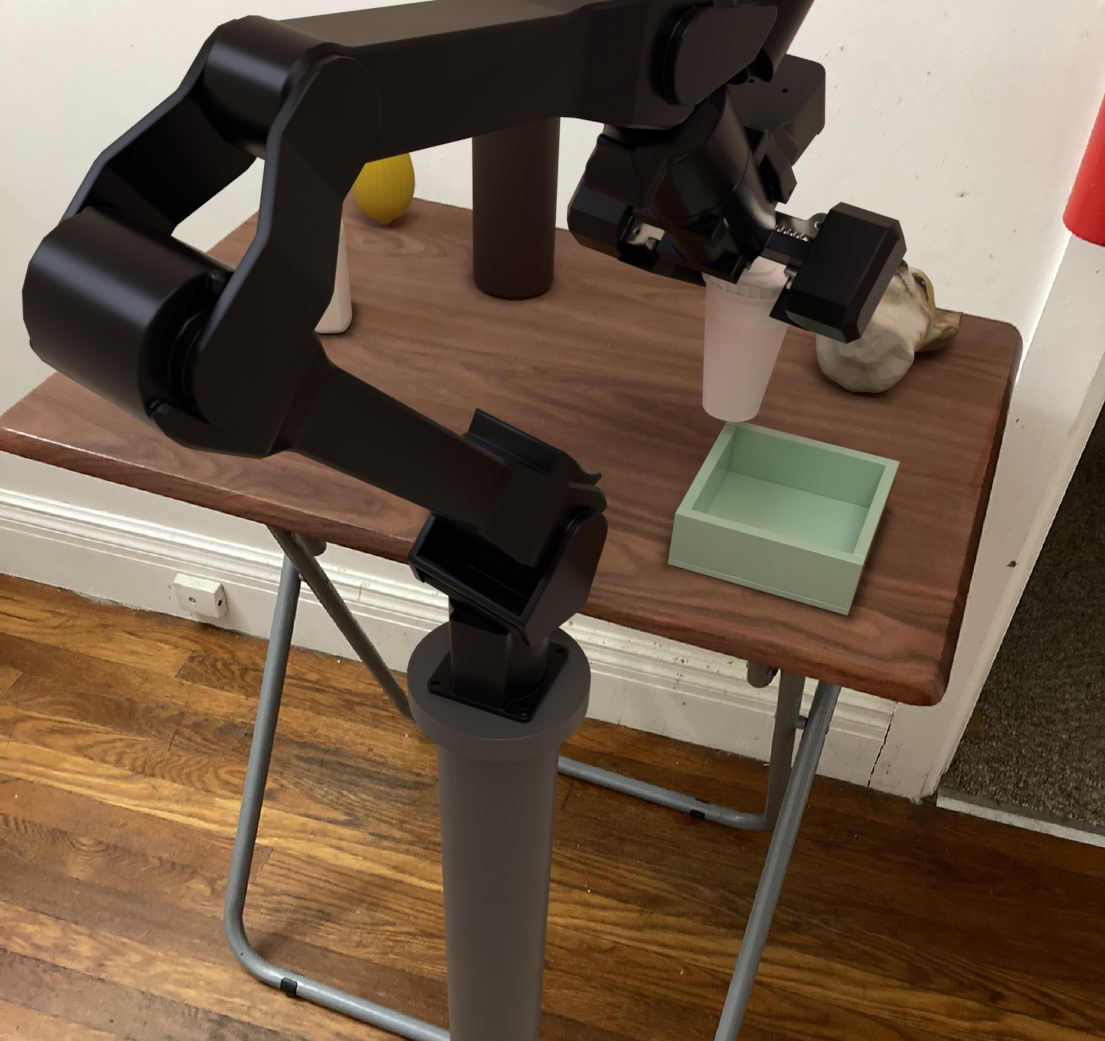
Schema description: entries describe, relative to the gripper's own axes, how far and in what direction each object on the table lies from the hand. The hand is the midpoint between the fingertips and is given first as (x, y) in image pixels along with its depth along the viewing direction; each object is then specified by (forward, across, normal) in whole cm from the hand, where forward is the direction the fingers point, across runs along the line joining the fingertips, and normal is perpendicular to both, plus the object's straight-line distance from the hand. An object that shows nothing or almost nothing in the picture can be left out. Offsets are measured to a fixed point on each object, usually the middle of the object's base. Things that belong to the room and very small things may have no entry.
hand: (760, 297), depth 72 cm
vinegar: (+10, +28, -6) cm, 30 cm away
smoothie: (+4, 0, +6) cm, 7 cm away
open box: (+6, -7, +12) cm, 15 cm away
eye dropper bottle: (+7, +35, +11) cm, 37 cm away
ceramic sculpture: (+23, -1, -5) cm, 23 cm away
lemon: (+18, +43, 0) cm, 47 cm away
